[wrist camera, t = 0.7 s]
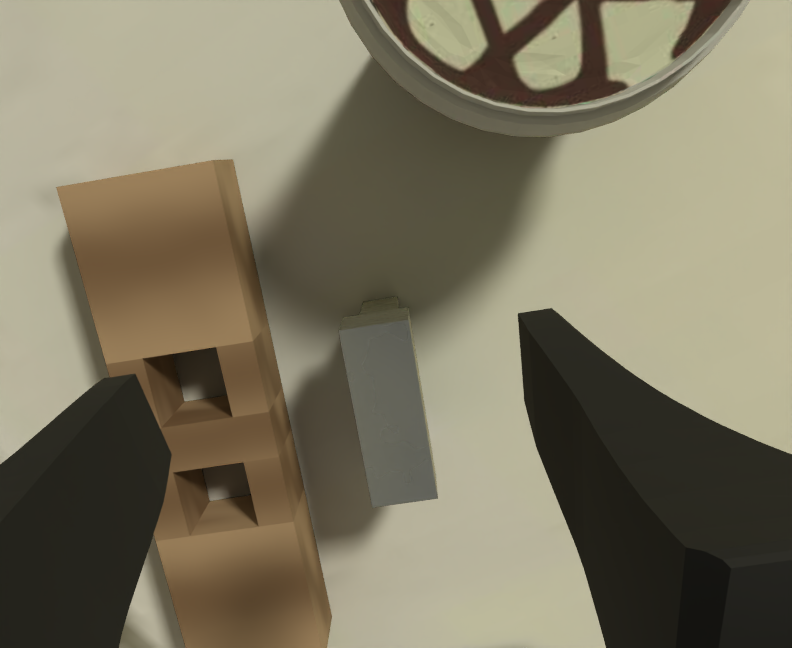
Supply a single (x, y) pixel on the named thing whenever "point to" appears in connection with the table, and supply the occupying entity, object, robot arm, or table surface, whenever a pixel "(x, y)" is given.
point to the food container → (539, 56)
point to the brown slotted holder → (206, 418)
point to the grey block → (388, 403)
